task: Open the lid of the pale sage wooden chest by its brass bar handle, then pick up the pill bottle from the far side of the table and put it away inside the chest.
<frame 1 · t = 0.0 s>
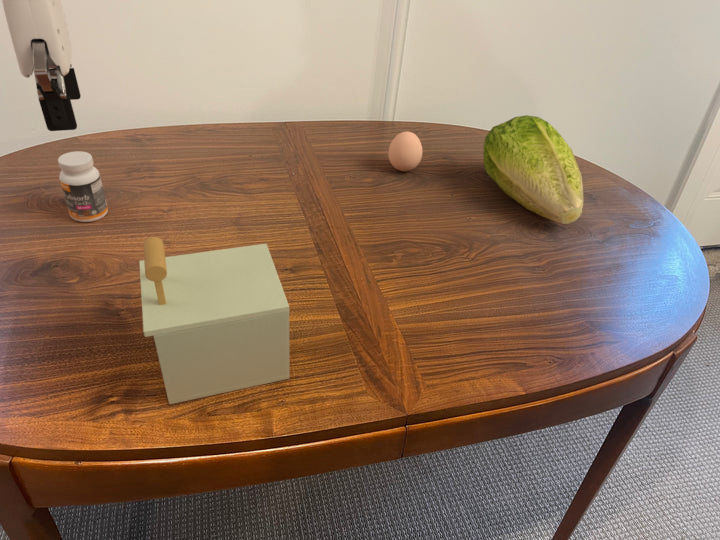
hand: (65, 113, 68), 20 cm above the table, tool pointing down, fingers open, 9 cm apart
chest: (223, 354, 65), on the table
egg: (402, 170, 107), on the table
pill bottle: (90, 214, 87), on the table
lettuce: (527, 201, 101), on the table
lid: (209, 266, 57), point 14 cm above the table, hinge at 0.0°
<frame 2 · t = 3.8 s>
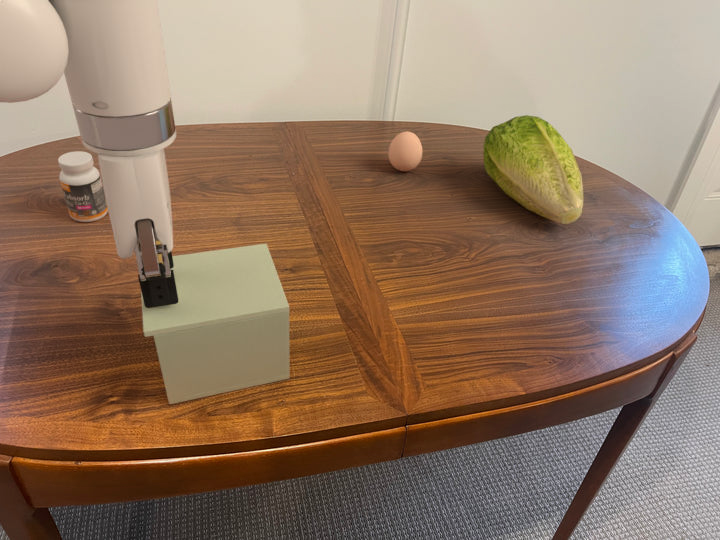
hand: (160, 284, 56), 12 cm above the table, tool pointing down, fingers closed on lid, 5 cm apart
lid: (209, 266, 57), point 14 cm above the table, hinge at 0.0°, touching gripper
everything else where it was.
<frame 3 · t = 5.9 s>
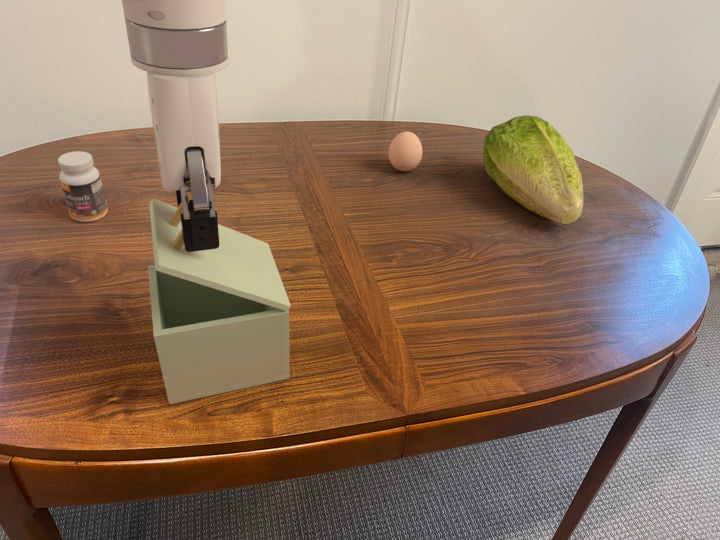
hand: (198, 230, 54), 19 cm above the table, tool pointing down, fingers closed on lid, 5 cm apart
lid: (232, 236, 55), point 17 cm above the table, hinge at 33.2°, touching gripper
everything else where it was.
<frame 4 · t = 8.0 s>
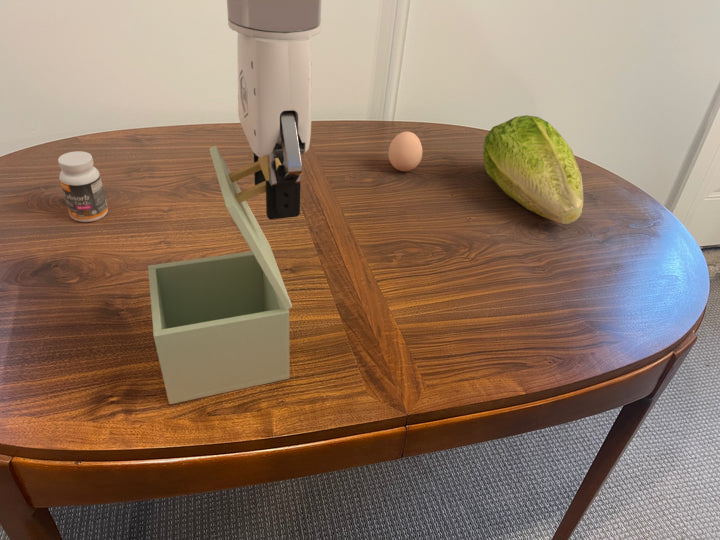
hand: (276, 199, 54), 21 cm above the table, tool pointing down, fingers closed on lid, 5 cm apart
lid: (274, 218, 56), point 19 cm above the table, hinge at 68.9°, touching gripper
everything else where it was.
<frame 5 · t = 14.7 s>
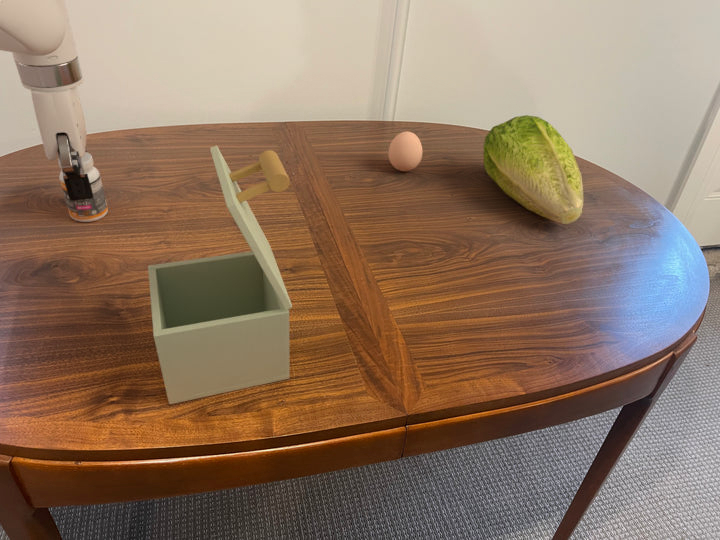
hand: (82, 187, 83), 5 cm above the table, tool pointing down, fingers closed on pill bottle, 5 cm apart
pill bottle: (90, 214, 87), on the table, touching gripper
lid: (274, 218, 56), point 19 cm above the table, hinge at 69.2°
everything else where it was.
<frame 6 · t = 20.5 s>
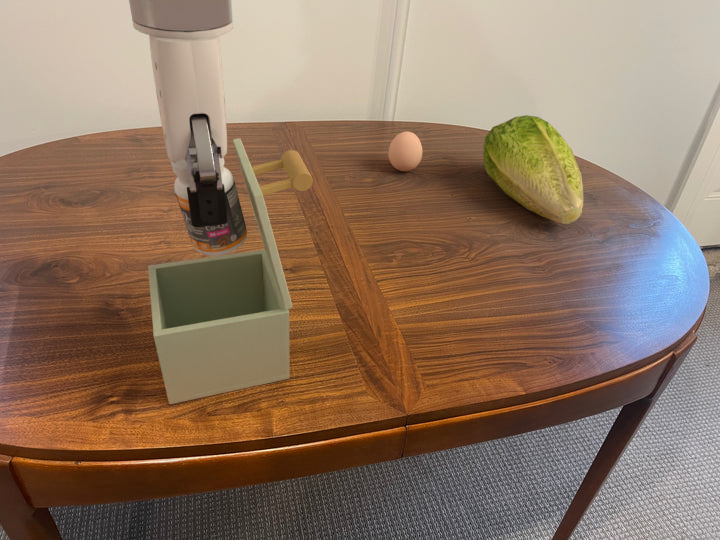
hand: (205, 204, 52), 21 cm above the table, tool pointing down, fingers closed on pill bottle, 5 cm apart
pill bottle: (221, 242, 56), point 17 cm above the table, touching gripper
lid: (287, 217, 56), point 19 cm above the table, hinge at 79.0°
everything else where it was.
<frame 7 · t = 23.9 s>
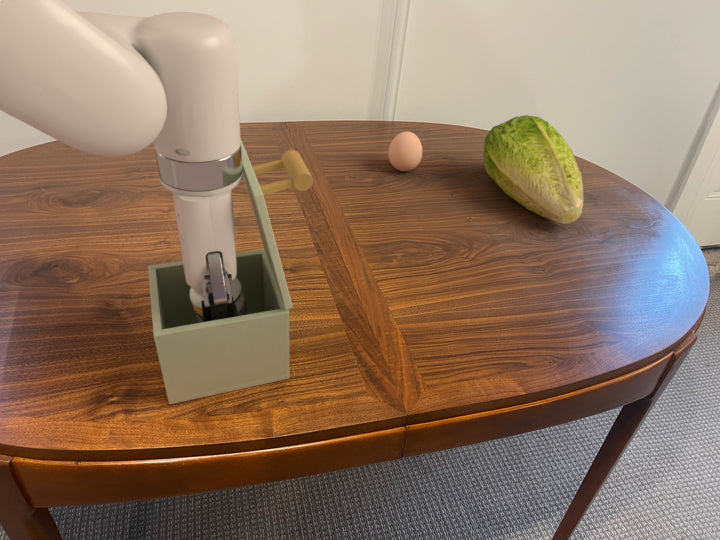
hand: (215, 306, 60), 8 cm above the table, tool pointing down, fingers closed on pill bottle, 5 cm apart
pill bottle: (229, 334, 64), point 3 cm above the table, touching gripper
everything else where it was.
when the fingers open (10 cm above the table, at t = 38.2 s): pill bottle drops 5 cm, resting on chest.
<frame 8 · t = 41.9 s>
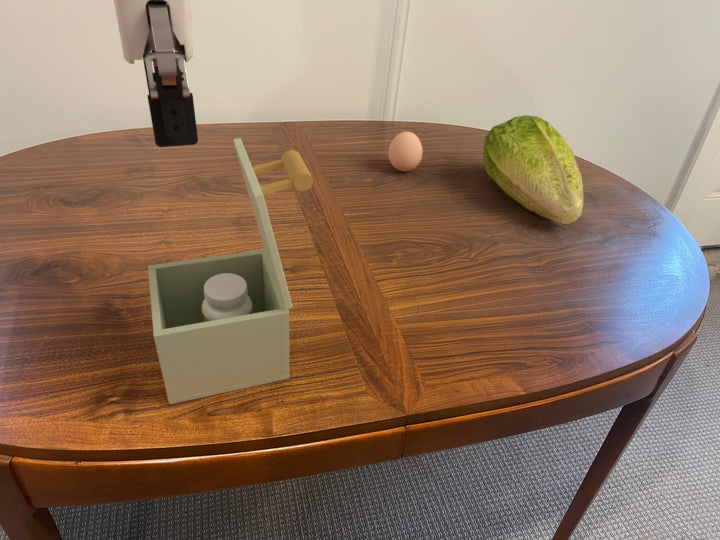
hand: (172, 119, 46), 30 cm above the table, tool pointing down, fingers open, 9 cm apart
pill bottle: (231, 349, 65), point 1 cm above the table, touching chest
everything else where it was.
at the end: lid at +79° (first picture: +0°); pill bottle inside the target area in the chest (1.0 cm from its centre), point 0.6 cm above the chest's base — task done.
